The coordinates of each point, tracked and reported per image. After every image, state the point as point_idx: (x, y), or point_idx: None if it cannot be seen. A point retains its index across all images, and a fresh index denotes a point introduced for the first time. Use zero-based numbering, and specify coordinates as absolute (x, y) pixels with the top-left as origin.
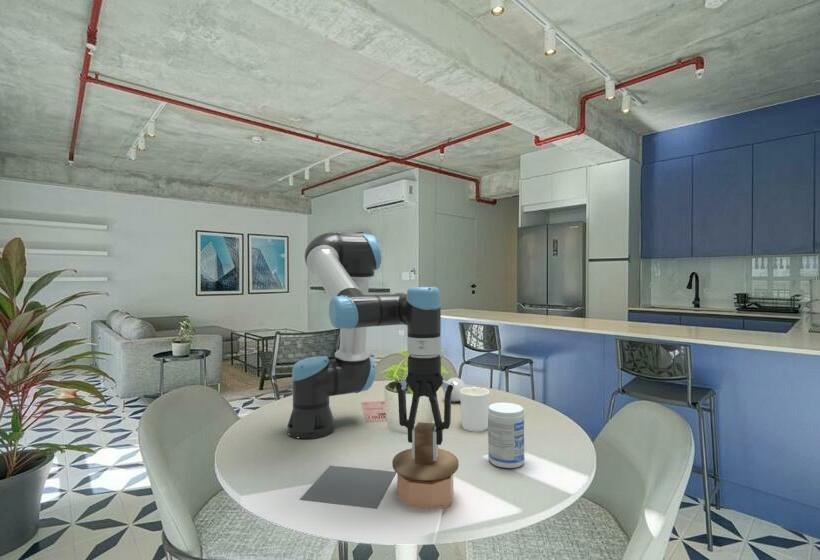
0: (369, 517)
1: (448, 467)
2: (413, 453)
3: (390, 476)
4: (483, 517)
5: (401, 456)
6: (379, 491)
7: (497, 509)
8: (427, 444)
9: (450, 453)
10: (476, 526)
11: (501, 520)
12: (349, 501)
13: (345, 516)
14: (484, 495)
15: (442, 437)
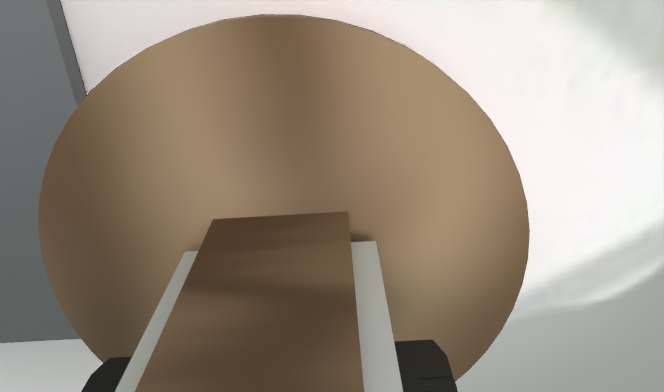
0: None
1: (461, 320)
2: None
3: (41, 60)
4: (565, 253)
5: (90, 249)
6: None
7: (635, 187)
8: None
9: (460, 105)
10: (533, 308)
11: (635, 255)
12: (8, 319)
13: (53, 360)
14: (591, 81)
15: (454, 383)
